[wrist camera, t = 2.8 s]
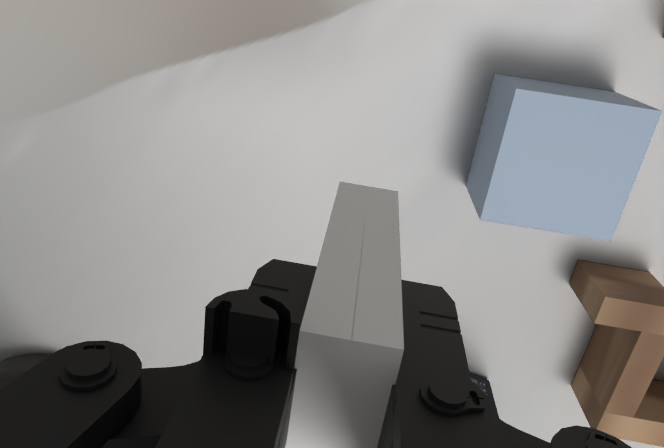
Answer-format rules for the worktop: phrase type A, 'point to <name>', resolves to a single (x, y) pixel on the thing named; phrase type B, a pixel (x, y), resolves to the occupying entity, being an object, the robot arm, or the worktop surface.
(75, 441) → the robot arm
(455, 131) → the worktop surface
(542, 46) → the worktop surface
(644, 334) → the wooden zigzag frame
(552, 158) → the block
